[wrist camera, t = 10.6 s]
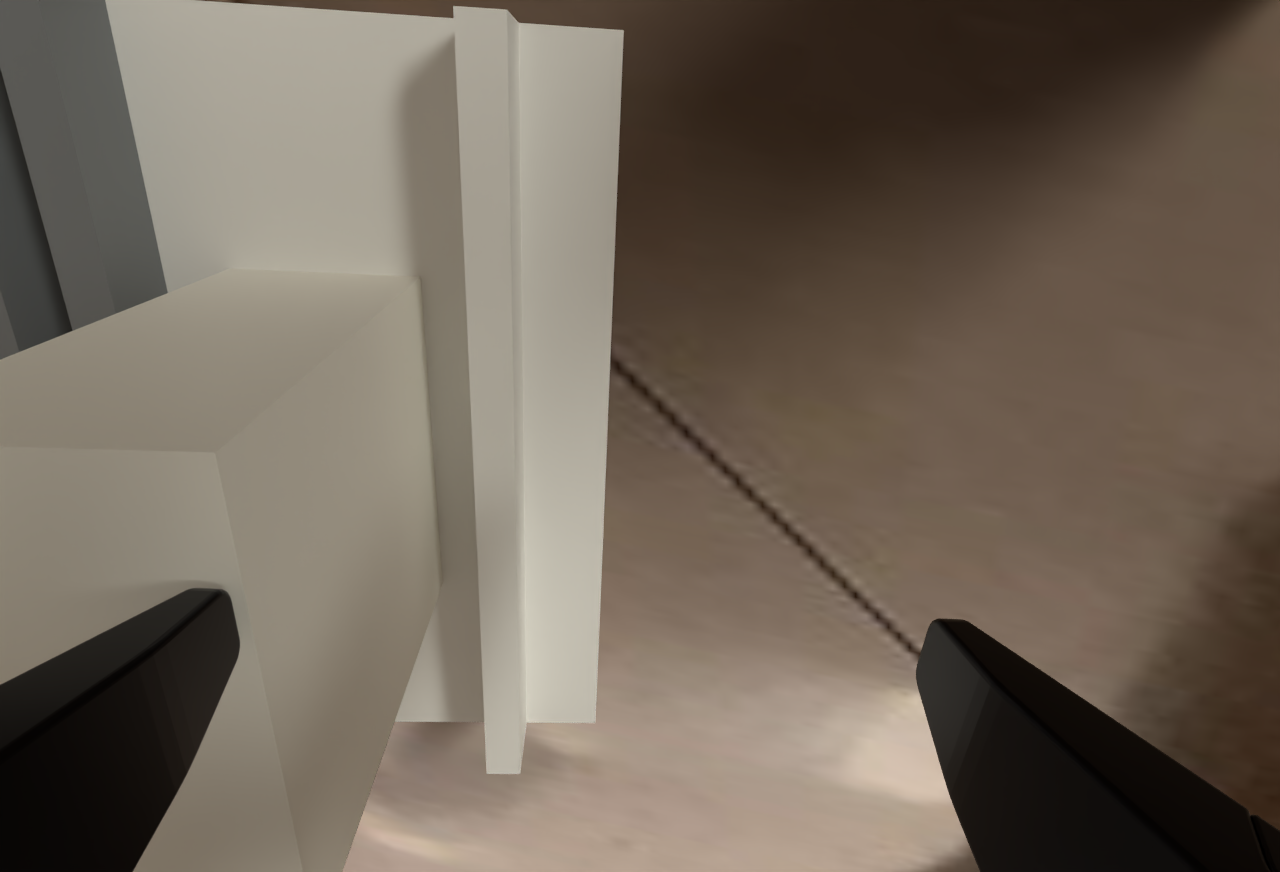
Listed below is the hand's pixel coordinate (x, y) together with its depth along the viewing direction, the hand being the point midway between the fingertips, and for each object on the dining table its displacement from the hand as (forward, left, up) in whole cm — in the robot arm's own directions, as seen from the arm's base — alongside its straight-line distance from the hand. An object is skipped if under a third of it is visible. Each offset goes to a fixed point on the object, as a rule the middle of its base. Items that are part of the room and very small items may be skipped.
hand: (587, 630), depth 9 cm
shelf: (+2, -7, -12) cm, 14 cm away
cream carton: (+2, -7, -10) cm, 12 cm away
